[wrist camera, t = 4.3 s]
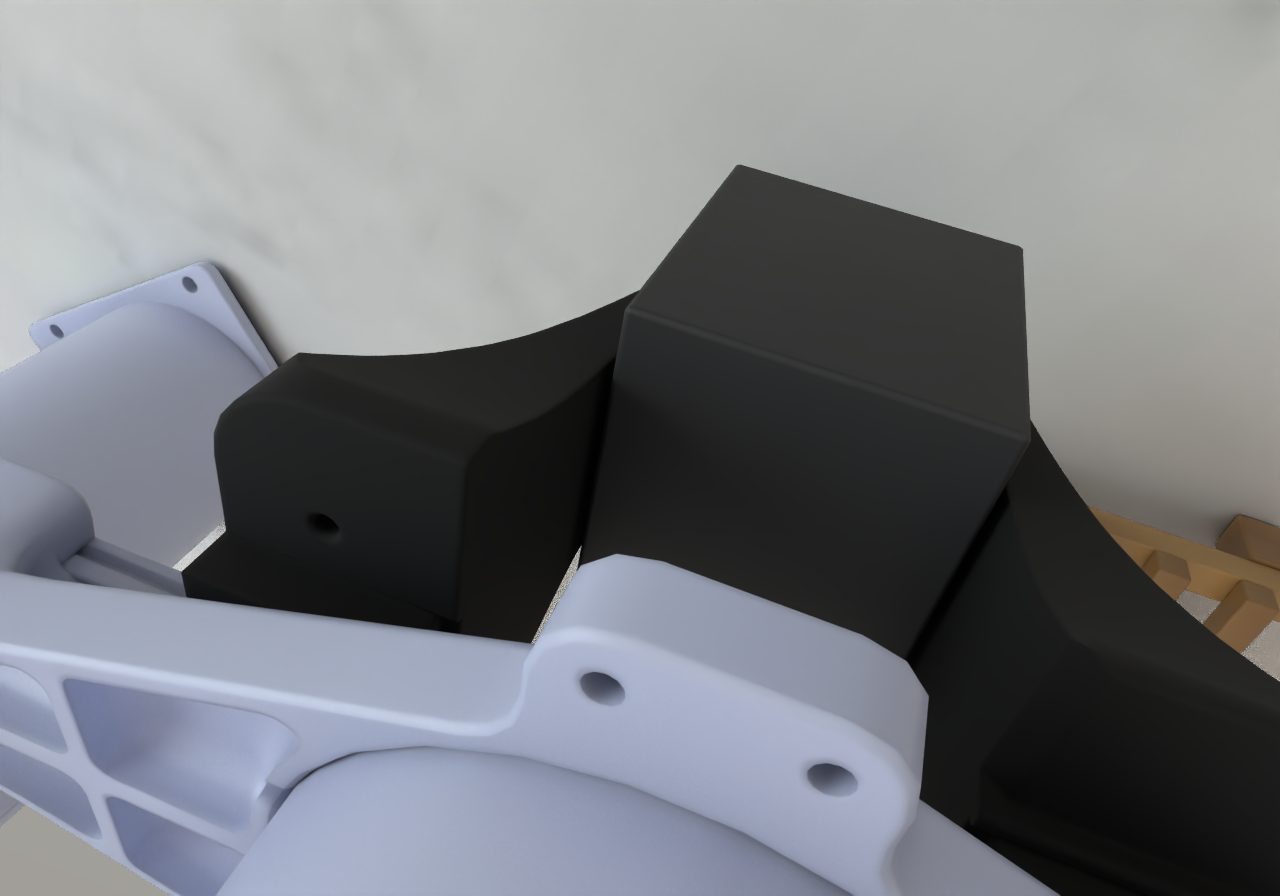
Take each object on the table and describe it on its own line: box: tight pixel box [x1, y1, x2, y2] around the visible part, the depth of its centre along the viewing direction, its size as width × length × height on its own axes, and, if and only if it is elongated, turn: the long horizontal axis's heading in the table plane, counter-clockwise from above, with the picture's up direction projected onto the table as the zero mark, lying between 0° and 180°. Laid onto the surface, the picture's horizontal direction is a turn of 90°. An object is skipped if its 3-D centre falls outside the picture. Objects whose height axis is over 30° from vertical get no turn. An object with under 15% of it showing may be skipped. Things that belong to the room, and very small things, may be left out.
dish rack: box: [1088, 506, 1280, 654], centre depth 23 cm, size 15×10×6 cm
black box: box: [577, 165, 1031, 661], centre depth 13 cm, size 4×5×5 cm
